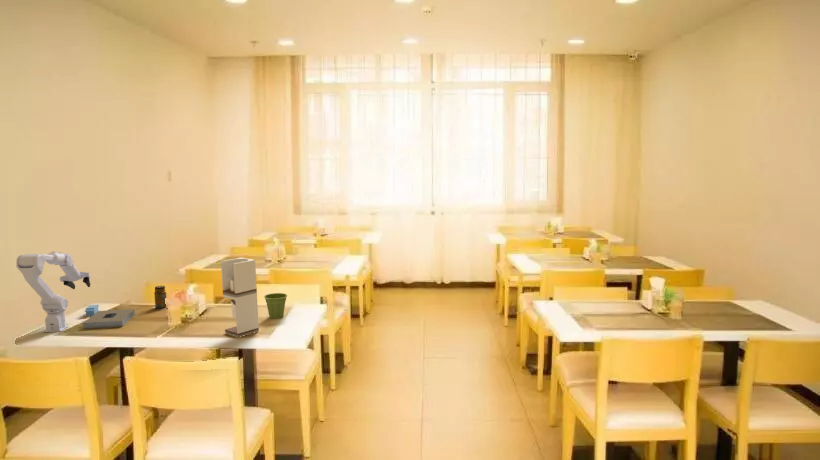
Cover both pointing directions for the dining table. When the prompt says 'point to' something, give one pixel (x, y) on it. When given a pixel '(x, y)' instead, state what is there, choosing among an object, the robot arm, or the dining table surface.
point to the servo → (91, 310)
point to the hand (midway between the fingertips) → (81, 286)
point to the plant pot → (275, 304)
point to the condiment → (160, 298)
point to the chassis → (109, 319)
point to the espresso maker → (241, 294)
